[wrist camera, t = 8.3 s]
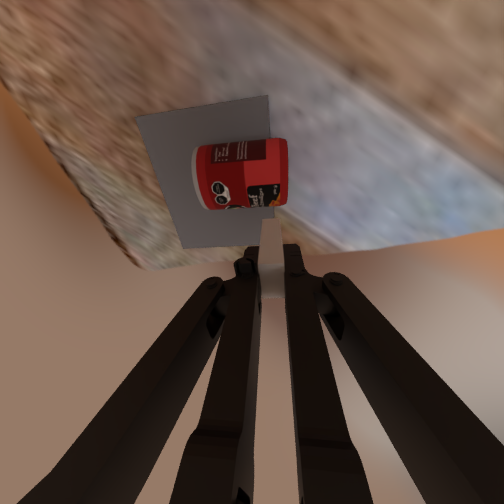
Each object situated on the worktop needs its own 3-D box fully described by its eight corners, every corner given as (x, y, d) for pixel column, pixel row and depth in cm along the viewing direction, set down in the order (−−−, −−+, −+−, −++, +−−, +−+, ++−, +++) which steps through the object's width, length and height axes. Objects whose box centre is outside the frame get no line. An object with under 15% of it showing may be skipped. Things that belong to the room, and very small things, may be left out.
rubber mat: (137, 117, 25) (134, 116, 25) (267, 95, 23) (267, 95, 22) (184, 247, 36) (183, 248, 36) (275, 242, 34) (275, 243, 33)
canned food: (285, 207, 28) (214, 211, 29) (284, 150, 26) (210, 157, 28) (288, 203, 20) (194, 208, 22) (287, 123, 19) (187, 134, 20)
